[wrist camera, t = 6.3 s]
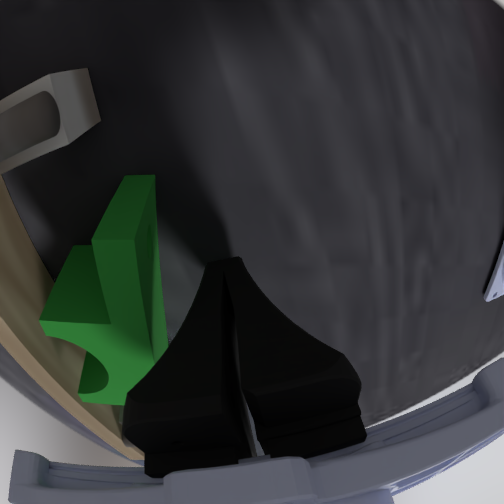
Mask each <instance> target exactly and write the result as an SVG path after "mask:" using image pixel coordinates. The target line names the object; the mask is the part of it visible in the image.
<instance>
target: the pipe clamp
mask: <svg viewBox="0 0 504 504" xmlns="http://www.w3.org/2000/svg"><path fill="white" fill-rule="evenodd" d="M91 241H92V245H74V246H73V247H72V249H71V251H70V253H69V255H68V257H67V259H66V261H65V263H64V265H63V267H62V269H61V271H60V273H59V275H58V278H57V280H56V282H55V284H54V286H53V288H52V290H51V293H50V295H49V297H48V299H47V302H46V304H45V306H44V309H43V311H42V313H41V316H40V318H39V322H40V324H41V326H42V328H43V331H44V333H45V335H46V336H52V337H56V338H60V339H63V340H66V341H69V342H71V343H74V344H76V345H78V346H80V347H82V348H83V349H85V350H87V351H86V355H85V360H84V364H83V369H82V373H81V378H80V383H79V388H78V395H79V397H80V398H81V400H82V402H88V403H98V404H109V405H123V406H124V404H125V400H126V396H127V392H129V391H130V390H131V389H132V388H133V387H134V386H135V385H136V384H137V383H138V382H139V381H140V380H141V379H142V378H143V377H144V376H145V375H146V374H147V373H148V372H149V371H150V369H151V368H152V367H153V366H154V365H155V363H156V362H157V361H158V360H159V359H160V357H161V356H162V355H163V353H164V352H165V351H166V349H167V348H168V346H169V344H168V337H167V329H166V321H165V312H164V304H163V294H162V284H161V273H160V261H159V248H158V233H157V214H156V189H155V175H125V177H124V178H123V180H122V182H121V184H120V185H119V187H118V189H117V191H116V193H115V194H114V196H113V198H112V200H111V202H110V204H109V206H108V208H107V210H106V211H105V213H104V215H103V217H102V219H101V221H100V223H99V225H98V227H97V229H96V231H95V233H94V236H93V238H92V240H91Z"/></svg>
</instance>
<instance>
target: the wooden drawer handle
mask: <svg viewBox="0 0 504 504" xmlns="http://www.w3.org/2000/svg"><path fill="white" fill-rule="evenodd" d="M100 121H101V118H100V114H99V111H98V107H97V103H96V100H95V96H94V92H93V88H92V84H91V80H90V76H89V72H88V68H83V69H76V70H69V71H63V72H58V73H52V74H49V75H46V76H44V77H42V78H40V79H38V80H36V81H35V82H33V83H31V84H29V85H27V86H25V87H23V88H21V89H20V90H18V91H16V92H14V93H12V94H11V95H9V96H7V97H6V98H4V99H2V100H1V101H0V343H1V344H2V345H3V346H4V347H5V349H6V350H7V351H8V352H9V353H10V354H11V355H12V357H13V358H14V359H15V360H16V361H17V362H18V363H19V364H20V365H21V366H22V368H23V369H24V370H25V371H26V372H27V373H28V374H29V375H30V376H31V377H32V378H33V379H34V380H35V381H36V382H37V383H38V384H39V385H40V386H41V387H42V388H43V389H44V390H45V391H46V392H47V393H48V394H49V395H50V396H51V397H53V398H54V399H55V400H56V401H57V402H58V403H59V404H60V405H61V406H62V407H64V408H65V409H66V410H67V411H68V412H69V413H70V414H72V415H73V416H74V417H75V418H76V419H77V420H79V421H80V422H81V423H82V424H84V425H85V426H86V427H87V428H88V429H90V430H91V431H92V432H94V433H95V434H96V435H97V436H99V437H100V438H101V439H103V440H104V441H105V442H107V443H108V444H109V445H111V446H112V447H114V448H115V449H116V450H118V451H119V452H121V453H122V454H123V455H125V456H126V457H128V458H129V459H131V460H144V452H143V451H141V450H140V449H139V448H137V447H136V446H135V445H133V444H132V443H131V442H130V441H128V440H127V439H126V437H125V436H124V435H123V433H122V422H123V410H124V406H123V405H109V404H98V403H88V402H82V400H81V398H80V397H79V395H78V388H79V383H80V378H81V373H82V369H83V364H84V360H85V355H86V351H87V350H85V349H83V348H82V347H80V346H78V345H76V344H74V343H71V342H69V341H66V340H63V339H60V338H56V337H52V336H46V335H45V333H44V331H43V328H42V326H41V324H40V322H39V318H40V316H41V313H42V311H43V309H44V306H45V304H46V302H47V299H48V297H49V295H50V293H51V290H52V288H53V286H54V284H55V283H54V281H53V279H52V278H51V276H50V274H49V272H48V271H47V269H46V267H45V265H44V264H43V262H42V260H41V258H40V256H39V255H38V253H37V251H36V249H35V247H34V245H33V243H32V241H31V239H30V238H29V236H28V234H27V232H26V230H25V228H24V225H23V223H22V221H21V219H20V217H19V215H18V213H17V211H16V208H15V206H14V204H13V202H12V199H11V197H10V195H9V192H8V190H7V188H6V185H5V183H4V180H3V178H2V175H1V174H3V173H5V172H7V171H9V170H11V169H13V168H15V167H17V166H19V165H21V164H24V163H26V162H28V161H30V160H32V159H35V158H37V157H39V156H41V155H44V154H46V153H48V152H51V151H53V150H56V149H58V148H61V147H63V146H66V145H68V144H70V143H71V142H73V141H74V140H75V139H77V138H78V137H79V136H80V135H82V134H83V133H85V132H86V131H87V130H89V129H90V128H91V127H93V126H94V125H96V124H97V123H99V122H100Z"/></svg>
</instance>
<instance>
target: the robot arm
mask: <svg viewBox="0 0 504 504" xmlns="http://www.w3.org/2000/svg"><path fill="white" fill-rule="evenodd" d="M503 294H504V242H503V245H502V248H501V251H500V254H499V257H498V260H497V263H496V266H495V269H494V271H493V274H492V277H491V279H490V282H489V285H488V287H487V290H486V292H485V294H484V299H485V300H486V301H487V302H488V301H491V300H493V299H495V298H497V297H499V296H501V295H503ZM360 392H361V381H360V378H359V376H358V374H357V373H356V371H355V369H354V368H353V366H352V365H351V363H350V362H349V361H348V359H347V358H346V357H345V355H344V354H343V353H341V352H339V351H337V350H335V349H333V348H331V347H330V346H328V345H326V344H324V343H322V342H321V341H319V340H318V339H316V338H314V337H313V336H311V335H310V334H308V333H307V332H306V331H304V330H303V329H302V328H300V327H299V326H297V325H296V324H295V323H293V322H292V321H291V320H290V319H289V318H288V317H286V316H285V315H284V314H283V313H282V312H281V311H280V310H279V309H278V308H277V307H276V306H275V305H274V304H273V303H272V302H271V301H270V300H269V299H268V298H267V297H266V296H265V294H264V293H263V292H262V291H261V290H260V288H259V287H258V286H257V284H256V283H255V282H254V280H253V279H252V277H251V276H250V274H249V273H248V271H247V269H246V268H245V266H244V263H243V261H242V258H240V257H239V256H238V257H233V258H228V259H223V260H219V261H214V262H209V263H207V265H206V267H205V271H204V274H203V277H202V280H201V283H200V286H199V289H198V291H197V294H196V296H195V299H194V301H193V304H192V306H191V308H190V310H189V312H188V314H187V316H186V318H185V320H184V322H183V324H182V326H181V328H180V329H179V331H178V333H177V334H176V336H175V337H174V339H173V340H172V342H171V343H170V345H169V346H168V348H167V349H166V351H165V352H164V353H163V355H162V356H161V357H160V359H159V360H158V361H157V362H156V363H155V365H154V366H153V367H152V368H151V369H150V371H149V372H148V373H147V374H146V375H145V376H144V377H143V378H142V379H141V380H140V381H139V382H138V383H137V384H136V385H135V386H134V387H133V388H132V389H131V390H130V391H129V392H127V396H126V400H125V404H124V410H123V422H122V433H123V435H124V436H125V437H126V439H127V440H128V441H130V442H131V443H132V444H133V445H135V446H136V447H137V448H139V449H140V450H141V451H143V452H144V467H104V466H89V465H77V464H67V463H59V462H51V461H49V460H47V459H46V458H45V457H43V456H41V455H39V454H36V453H33V452H28V451H22V450H15V454H14V460H13V466H12V473H11V480H10V488H9V498H8V500H9V502H10V503H12V504H394V501H393V498H392V496H394V495H396V494H398V493H401V492H403V491H405V490H407V489H410V488H412V487H414V486H416V485H418V484H420V483H422V482H424V481H426V480H428V479H430V478H432V477H434V476H436V475H438V474H440V473H441V472H443V471H445V470H447V469H448V468H450V467H452V466H454V465H456V464H457V463H459V462H461V461H463V460H464V459H465V458H467V457H469V456H471V455H472V454H474V453H476V452H477V451H479V450H480V449H482V448H483V447H485V446H487V445H488V444H490V443H491V442H492V441H494V440H496V439H497V438H498V437H500V436H501V435H503V434H504V358H500V359H499V360H497V361H495V362H494V363H492V364H490V365H488V366H487V367H485V368H483V369H482V370H481V371H480V372H479V373H478V374H477V375H476V376H475V377H474V379H473V381H472V383H470V384H468V385H467V386H465V387H463V388H461V389H459V390H457V391H455V392H453V393H451V394H449V395H447V396H445V397H443V398H441V399H439V400H437V401H434V402H432V403H430V404H428V405H426V406H423V407H421V408H419V409H416V410H414V411H412V412H409V413H407V414H404V415H402V416H399V417H397V418H395V419H392V420H389V421H386V422H384V423H381V424H378V425H376V426H373V427H370V428H367V429H365V428H364V425H363V422H362V420H361V417H360V415H361V410H360V408H359V405H358V399H359V395H360ZM245 399H246V400H245ZM246 402H247V405H248V407H249V410H250V412H251V415H252V417H253V420H254V424H255V430H256V435H257V440H258V441H259V442H260V445H261V447H262V449H263V451H264V454H265V455H263V456H258V457H257V453H256V448H255V444H254V439H253V435H252V430H251V425H250V420H249V415H248V410H247V405H246Z"/></svg>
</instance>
